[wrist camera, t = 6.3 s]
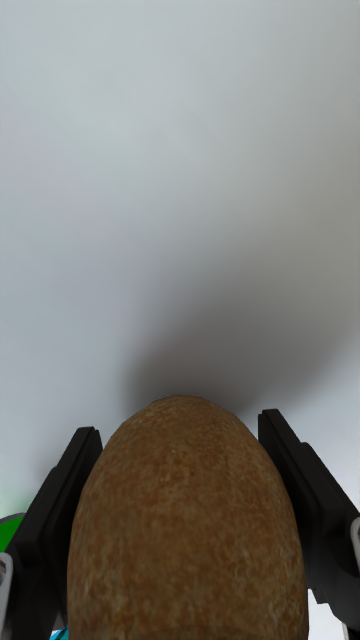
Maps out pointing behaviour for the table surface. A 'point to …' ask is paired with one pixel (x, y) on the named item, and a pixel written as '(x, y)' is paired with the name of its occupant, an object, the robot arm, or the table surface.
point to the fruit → (185, 534)
